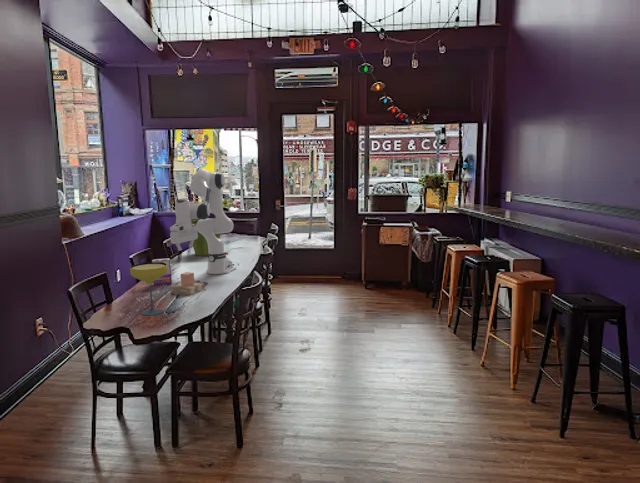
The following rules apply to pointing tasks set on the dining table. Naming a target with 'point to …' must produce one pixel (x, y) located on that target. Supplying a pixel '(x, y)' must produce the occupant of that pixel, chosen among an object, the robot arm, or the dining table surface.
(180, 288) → the plinth
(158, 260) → the candy bar box
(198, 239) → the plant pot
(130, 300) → the dining table surface
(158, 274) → the cocktail glass
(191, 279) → the block
